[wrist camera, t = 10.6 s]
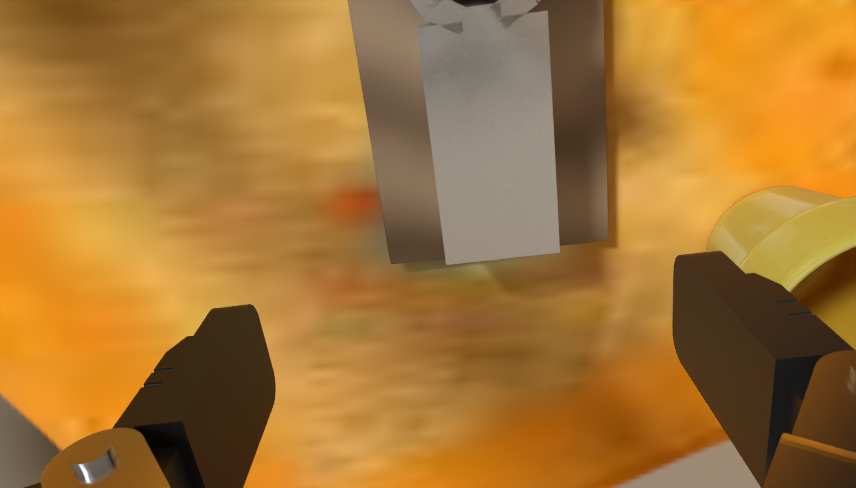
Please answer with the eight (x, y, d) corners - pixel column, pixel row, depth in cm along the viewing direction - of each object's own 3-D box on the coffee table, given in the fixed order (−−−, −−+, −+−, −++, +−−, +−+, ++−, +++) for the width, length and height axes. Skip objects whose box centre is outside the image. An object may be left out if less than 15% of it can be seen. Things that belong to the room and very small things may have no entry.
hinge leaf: (389, -118, 26) (381, -135, 22) (537, -140, 26) (553, -161, 22) (435, 233, 32) (434, 266, 28) (555, 219, 31) (571, 251, 28)
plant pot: (701, 361, 36) (789, 490, 27) (639, 205, 32) (717, 292, 23) (890, 289, 34) (1054, 401, 25) (846, 115, 30) (1018, 171, 21)
